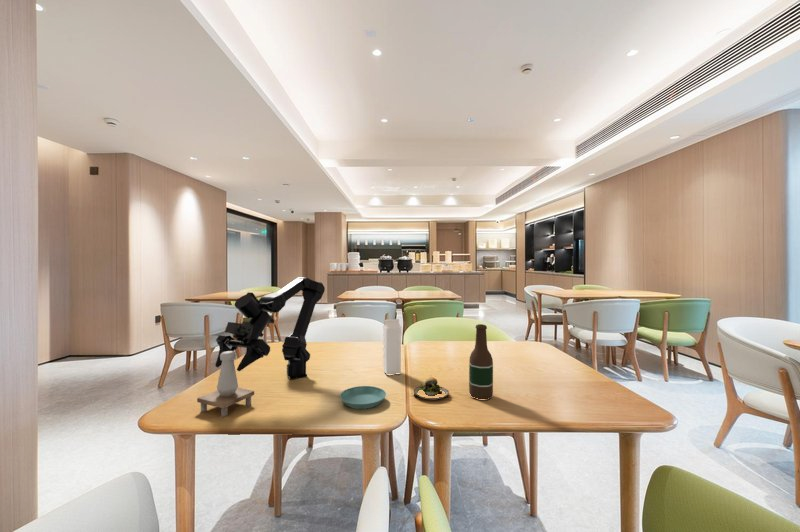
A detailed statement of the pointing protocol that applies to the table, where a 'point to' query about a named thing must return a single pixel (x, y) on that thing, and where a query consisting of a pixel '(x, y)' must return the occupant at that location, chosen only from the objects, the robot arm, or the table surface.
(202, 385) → the table surface
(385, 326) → the milk
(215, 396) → the small stand
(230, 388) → the salt shaker
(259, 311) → the robot arm
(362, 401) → the saucer
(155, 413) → the table surface
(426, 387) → the plate of food
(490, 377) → the beer bottle
